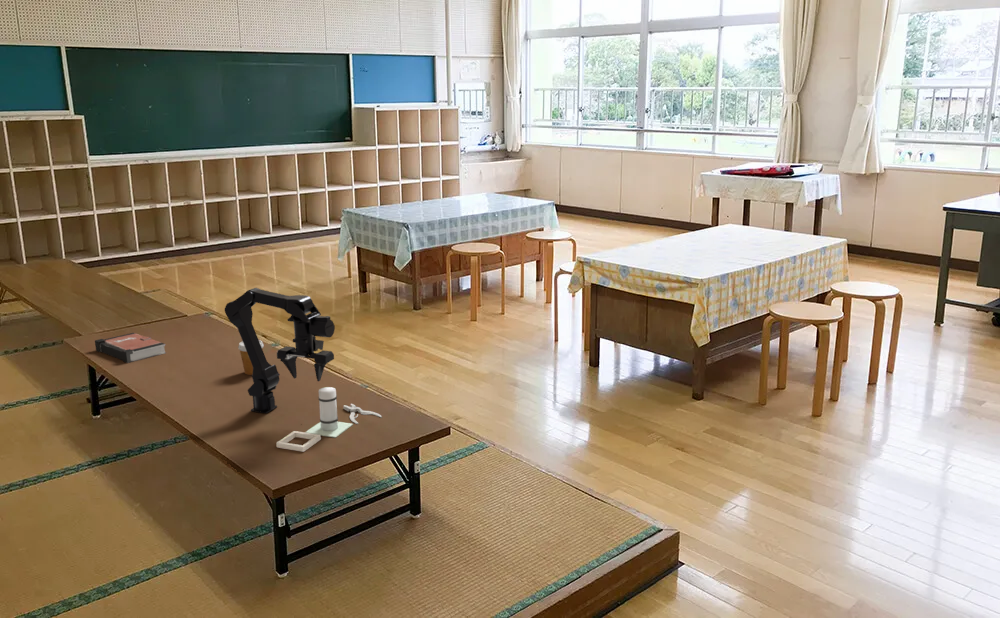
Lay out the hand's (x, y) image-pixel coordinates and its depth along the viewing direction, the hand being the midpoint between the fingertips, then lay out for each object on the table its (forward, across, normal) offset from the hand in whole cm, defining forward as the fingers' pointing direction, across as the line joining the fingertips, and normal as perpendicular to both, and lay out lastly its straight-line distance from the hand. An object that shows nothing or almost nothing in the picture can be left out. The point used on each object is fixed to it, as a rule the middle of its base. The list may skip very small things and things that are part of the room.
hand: (307, 379), depth 269 cm
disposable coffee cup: (+13, +46, -31) cm, 56 cm away
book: (+13, +110, -35) cm, 116 cm away
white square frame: (+13, -9, +20) cm, 25 cm away
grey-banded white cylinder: (+13, -12, +7) cm, 19 cm away
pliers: (+14, -14, -7) cm, 21 cm away
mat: (+13, -12, +7) cm, 19 cm away
